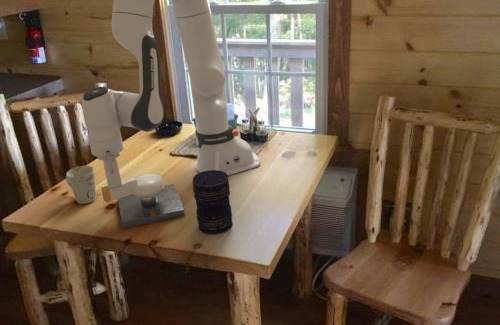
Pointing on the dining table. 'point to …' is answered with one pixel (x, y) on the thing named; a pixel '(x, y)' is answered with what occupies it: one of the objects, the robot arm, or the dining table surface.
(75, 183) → the mug
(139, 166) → the dining table surface
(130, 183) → the white handled oval piece
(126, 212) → the plate
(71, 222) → the dining table surface
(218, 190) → the dark blue ribbed cylinder
